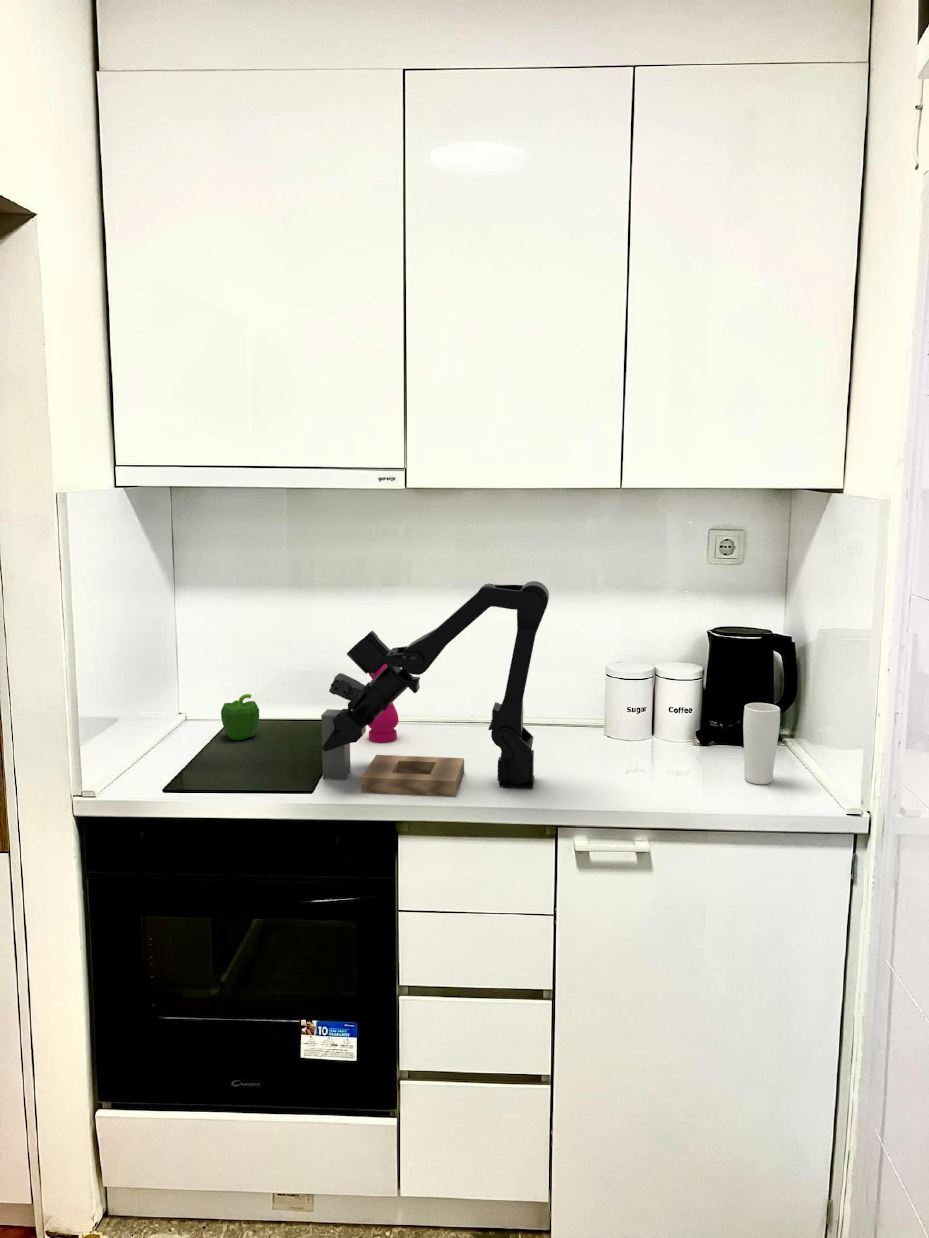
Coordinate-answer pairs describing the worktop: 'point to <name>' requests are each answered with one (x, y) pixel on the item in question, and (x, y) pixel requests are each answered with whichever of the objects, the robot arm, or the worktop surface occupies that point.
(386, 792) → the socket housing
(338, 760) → the plug block
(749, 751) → the drinking glass
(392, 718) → the pepper mill
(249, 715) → the bell pepper
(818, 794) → the worktop surface
